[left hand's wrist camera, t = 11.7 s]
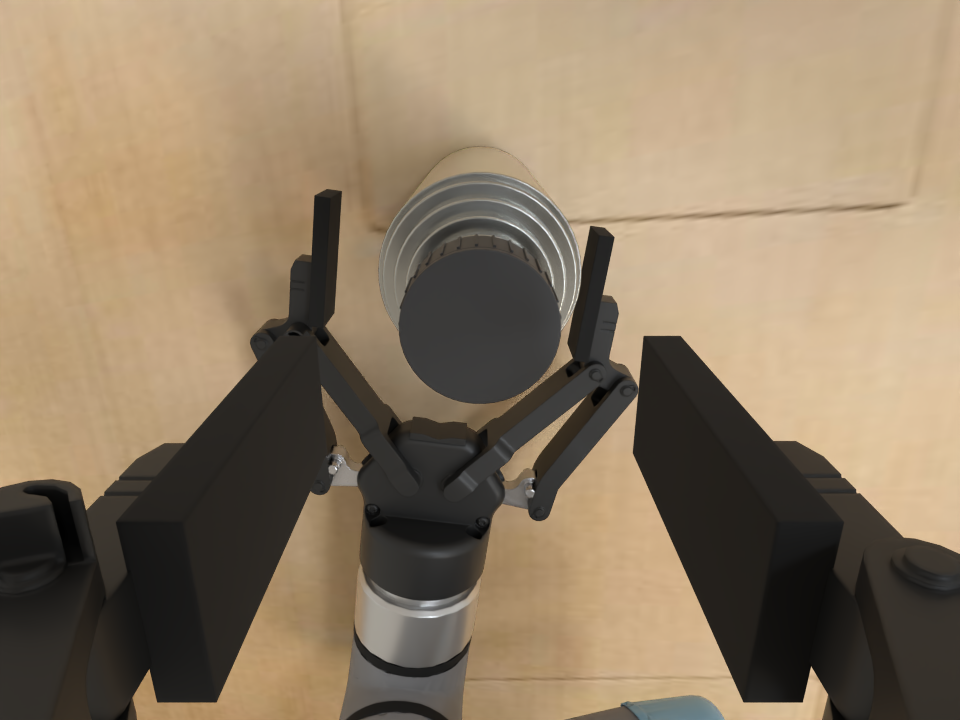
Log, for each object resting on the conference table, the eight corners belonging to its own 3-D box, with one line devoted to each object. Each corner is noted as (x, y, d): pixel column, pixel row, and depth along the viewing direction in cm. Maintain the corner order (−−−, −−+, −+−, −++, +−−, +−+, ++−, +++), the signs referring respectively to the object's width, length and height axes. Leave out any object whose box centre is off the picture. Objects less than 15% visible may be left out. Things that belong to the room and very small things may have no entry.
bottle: (560, 172, 38) (654, 245, 18) (516, 288, 41) (553, 471, 20) (440, 127, 37) (391, 151, 17) (402, 249, 40) (319, 399, 19)
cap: (578, 262, 20) (589, 280, 18) (523, 396, 21) (528, 426, 19) (431, 211, 19) (425, 223, 17) (386, 351, 21) (376, 377, 19)
